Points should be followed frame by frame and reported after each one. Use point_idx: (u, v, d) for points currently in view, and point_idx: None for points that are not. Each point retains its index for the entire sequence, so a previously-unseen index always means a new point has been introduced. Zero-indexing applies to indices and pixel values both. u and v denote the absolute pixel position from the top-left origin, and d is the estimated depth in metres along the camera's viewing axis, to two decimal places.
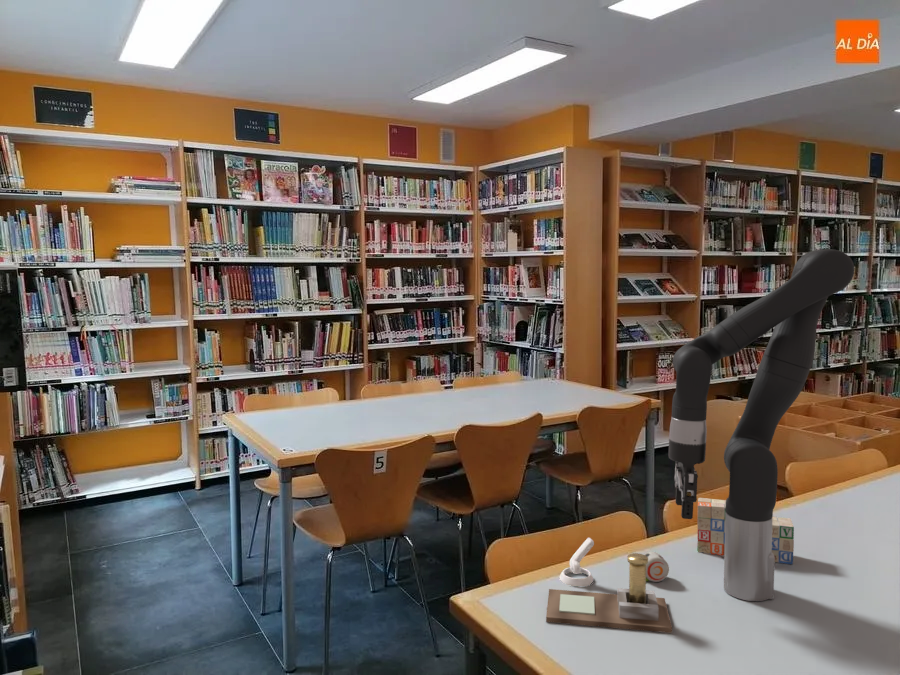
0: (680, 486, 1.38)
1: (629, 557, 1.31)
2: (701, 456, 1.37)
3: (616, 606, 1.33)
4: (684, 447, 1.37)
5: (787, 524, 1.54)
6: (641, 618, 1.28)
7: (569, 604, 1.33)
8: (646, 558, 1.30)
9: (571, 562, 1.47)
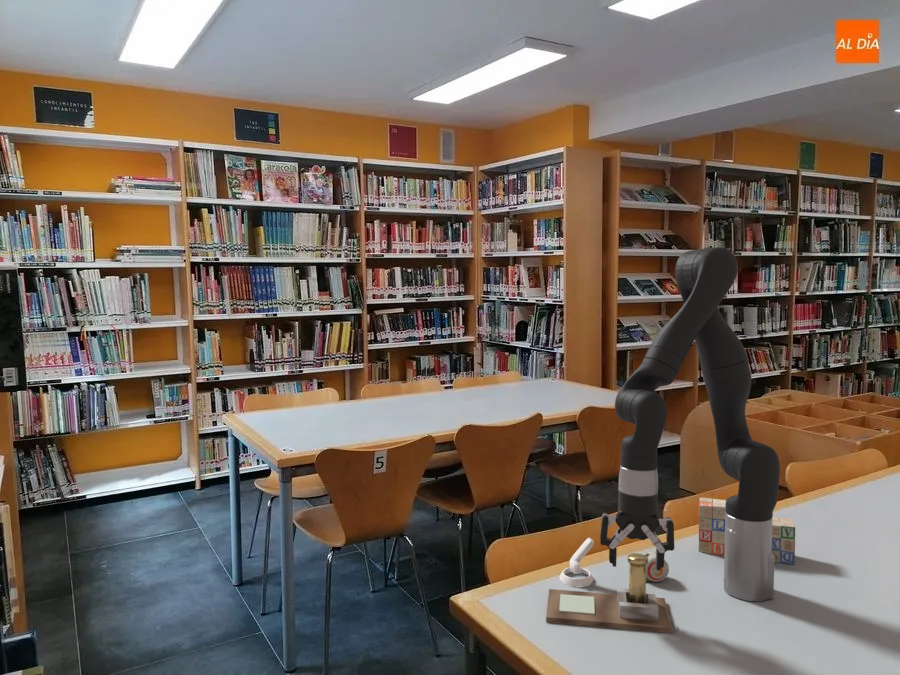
0: (656, 539, 1.28)
1: (629, 557, 1.31)
2: None
3: (616, 606, 1.33)
4: (657, 496, 1.28)
5: (788, 524, 1.54)
6: (641, 618, 1.28)
7: (569, 604, 1.33)
8: (646, 558, 1.30)
9: (571, 562, 1.47)
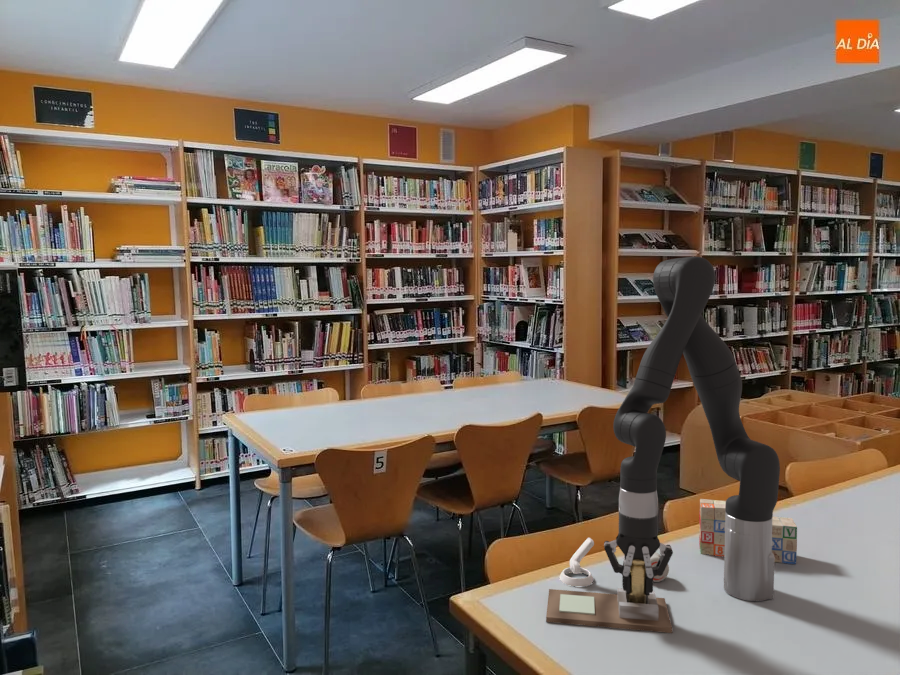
0: (650, 564, 1.29)
1: None
2: None
3: (616, 606, 1.33)
4: (657, 517, 1.28)
5: (789, 524, 1.54)
6: (641, 618, 1.28)
7: (569, 604, 1.33)
8: None
9: (571, 562, 1.47)
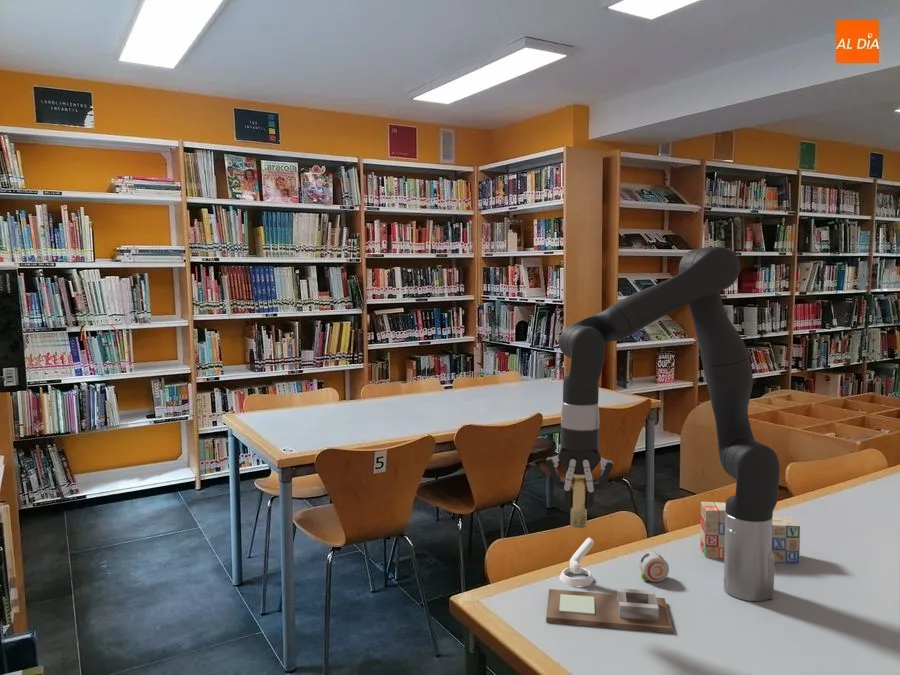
0: (591, 478, 1.29)
1: None
2: None
3: (616, 606, 1.33)
4: (598, 431, 1.29)
5: (792, 523, 1.55)
6: (641, 618, 1.28)
7: (569, 604, 1.33)
8: None
9: (571, 562, 1.47)
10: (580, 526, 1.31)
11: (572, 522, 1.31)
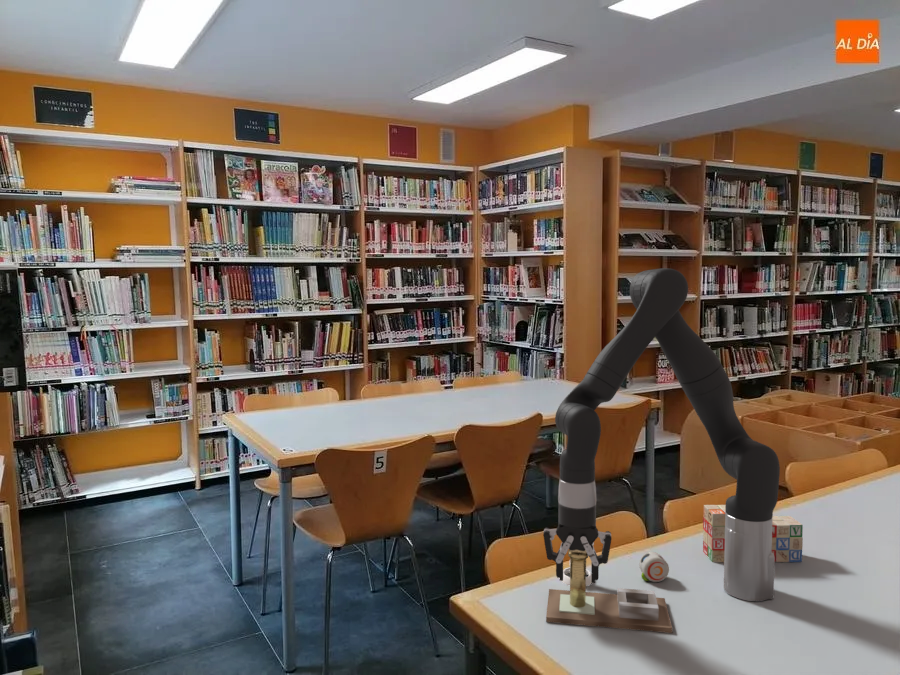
0: (592, 552, 1.31)
1: (570, 551, 1.33)
2: None
3: (616, 606, 1.33)
4: (595, 508, 1.30)
5: (794, 523, 1.55)
6: (641, 618, 1.28)
7: (569, 604, 1.33)
8: (586, 553, 1.32)
9: None
10: (579, 605, 1.32)
11: (571, 601, 1.33)
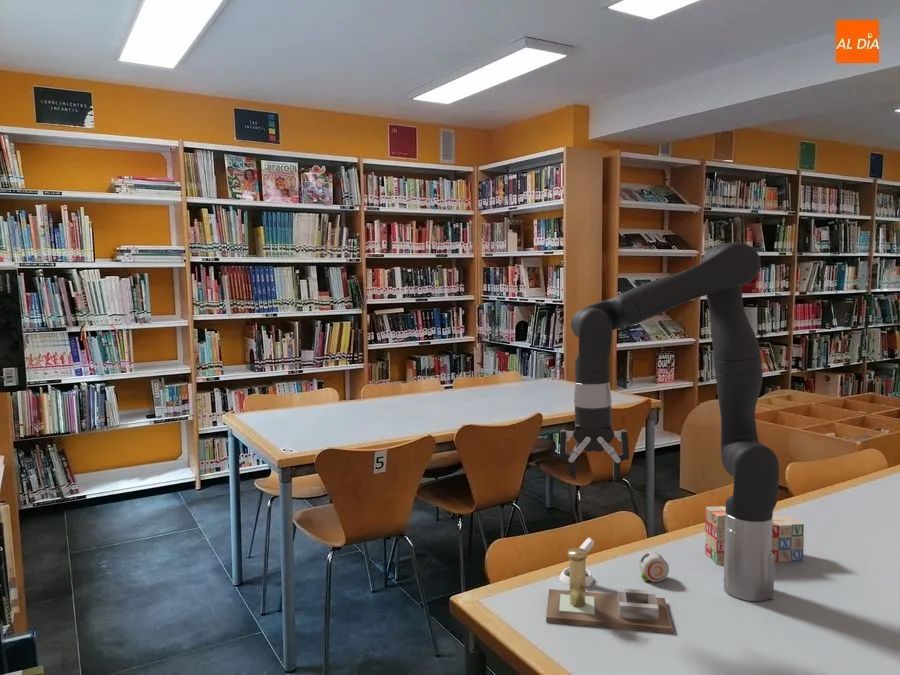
0: (612, 450, 1.34)
1: (569, 551, 1.33)
2: None
3: (616, 606, 1.33)
4: (610, 408, 1.34)
5: (795, 522, 1.56)
6: (641, 618, 1.28)
7: (569, 604, 1.33)
8: (585, 552, 1.32)
9: None
10: (579, 605, 1.32)
11: (571, 601, 1.33)
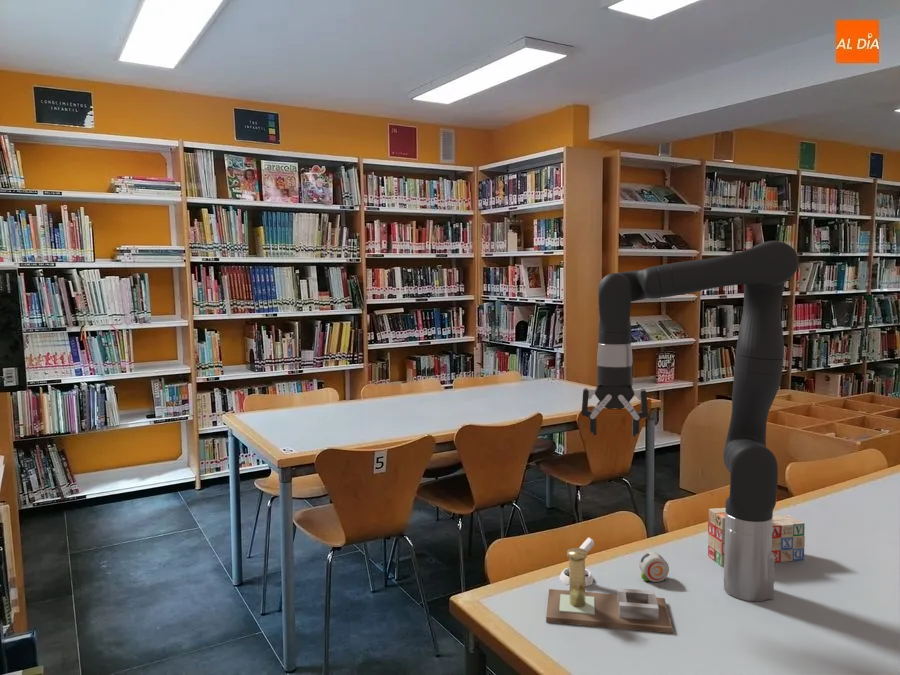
0: (631, 407, 1.42)
1: (568, 552, 1.33)
2: None
3: (616, 606, 1.33)
4: (631, 368, 1.42)
5: (796, 521, 1.56)
6: (641, 618, 1.28)
7: (569, 604, 1.33)
8: (585, 552, 1.32)
9: None
10: (579, 605, 1.32)
11: (571, 601, 1.33)
